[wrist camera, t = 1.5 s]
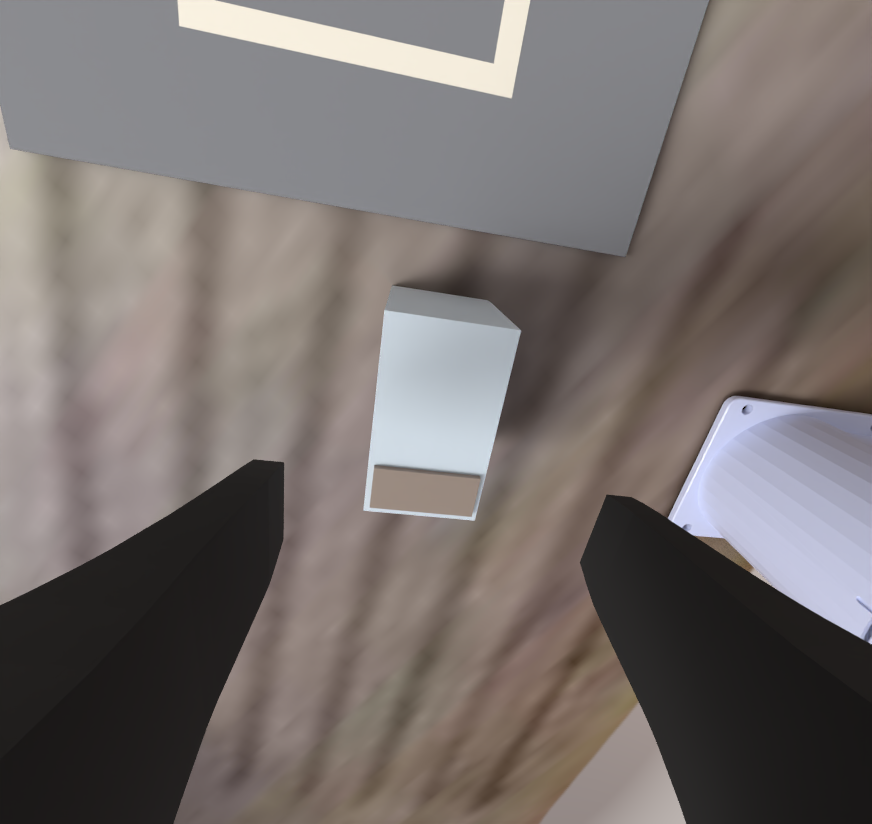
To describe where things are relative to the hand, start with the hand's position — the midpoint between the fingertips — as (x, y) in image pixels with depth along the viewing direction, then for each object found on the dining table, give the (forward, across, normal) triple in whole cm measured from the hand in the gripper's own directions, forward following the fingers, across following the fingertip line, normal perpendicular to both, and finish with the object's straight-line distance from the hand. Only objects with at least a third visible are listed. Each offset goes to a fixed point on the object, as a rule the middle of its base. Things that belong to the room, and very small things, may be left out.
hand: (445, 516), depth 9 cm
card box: (+10, 0, 0) cm, 10 cm away
